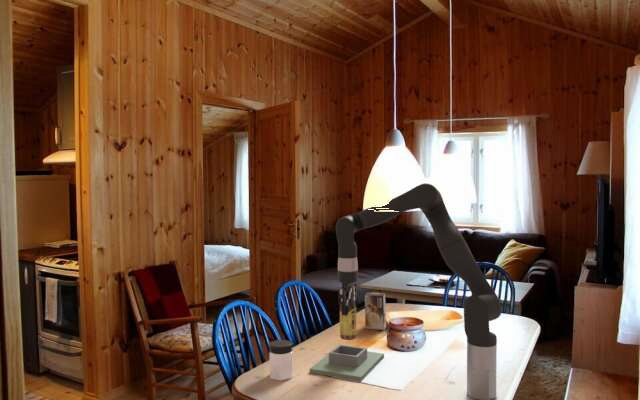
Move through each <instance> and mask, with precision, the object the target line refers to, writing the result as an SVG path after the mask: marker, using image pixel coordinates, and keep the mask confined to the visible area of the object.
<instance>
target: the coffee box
mask: <svg viewBox="0 0 640 400" xmlns="http://www.w3.org/2000/svg"><path fill="white" fill-rule="evenodd" d="M386 311H387V309H386V292H368V291H367V292H366V293H365V295H364V320H365V326H364V327H365V329H367V330H381V331H385V329H386V328H387V318H386V317H387V316H386V315H387V312H386Z"/></svg>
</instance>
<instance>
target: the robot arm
mask: <svg viewBox="0 0 640 400" xmlns="http://www.w3.org/2000/svg"><path fill="white" fill-rule="evenodd" d="M390 200H391V199H390ZM370 207H371V208H370ZM370 207H368V208H365V209H362V210H361V211H359V212H355V213H352V214H349V215H346V216H342V217H340V218H338V220H337V221H336V225H335V234H336V239H337V244H338V245H337V246H338V250H337V251H338V253H337V255H338V258H337V282H339V283H341V288H338V289H337V296H338V305H339V306H340V305H342V315H345V316H347V315H348V300H350V296H351V292H352V288H351V287H350V286H353V300H354V302H355V301H356V299H357V298H358V281H359V272H358V271H359V264H358V247H357V243H356V242H355V233H357V232H360V231H363V230H366V229H369V228H373V227H375V226H379V225H382V224H383V223H386V222H389V221H390V220H392V219H394V218H395V217H397V216H398V215H400V214H402V213H405V212H408V211H411V210H412V211H413V210H415V209H420V210H421V211H422V214H423V215H424V216H425V217H426V219H427V221H428V222H429V224H430V226H431V229H432V231H433V235H434V240H435V243H436V245H437V247H438V250H439V252H440V255H441V257H442V259H443V260H444V263H445V264H446V265H447V266H448V268H449V270H451V271H452V272H453V273H454V274H456V275H457V277H459V278H460V279H461V280H462V281H463V282H464V283H465V284H466V285H467V287H468V289H469V290H470V292H471V294H472V295H469V296H468V297H467V298H466V299H465V302H464V305H463V323H464V324H463V326H464V332H465V336H466V394H467V395H468V396H469V399H474V400H494V399H496V397H497V350H498V349H497V344H498V343H497V342H498V340H497V339H498V338H497V335H496V334H495V333H494V332H493V331H492V332H491V331H490V322H492V321H494V320H497V319H499V318H500V316H501V315H502V312H503V311H502V310H503V307H502V302H501V301H500V298H499V297H498V295H497V294H496V292H495V290H494V289H493V288H492V286H491V284H490V283H489V281H488V280H487V279H486V277H485V276H484V274H483V272H482V269H481V268H480V266H479V264H478V262H477V261H476V259H475V257H474V255H473V254H472V252H471V251H472V250H471V249H470V247H469V245H468V243H467V241H466V240H465V238H464V237H463V235H462V233H461V232H460V230H459V228H458V227H457V225H456V224H455V222H454V221H453V219H452V218H451V216H450V214H449V212H448V209H447V207H446V204H445V202H444V199H443V197H442V194H441V192H440V191H439V190H438V189H437V187H436V186H434V185H433V184H431V183H426V182H425V183H421V184H418V185H416V186H415V187H412V188H410V189H409V190H408V191H406V192H404V193H401V194H399V195H398V196H395V197H394V198H392V200H391V201H390V202H389V204H387V205H385V206H382V207H373V206H370ZM376 208H389V209H376ZM368 209H374V210H376V211H379V210H394V211H399V212H374V210H368ZM346 296H348V297H346ZM343 301H344V302H343Z"/></svg>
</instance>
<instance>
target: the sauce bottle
mask: <svg viewBox="0 0 640 400" xmlns="http://www.w3.org/2000/svg"><path fill="white" fill-rule="evenodd" d="M350 287H351V288H352V292H351V296H350V300H348V315H347V316H345V315H342V305H339V334H340V335H339V337H340V339H342V340H345V341H351V340H354V339H356V338H357V306H356V303H355V301H354V300H353V286H350ZM346 297H348V296H346ZM343 302H344V301H343Z"/></svg>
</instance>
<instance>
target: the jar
mask: <svg viewBox="0 0 640 400" xmlns="http://www.w3.org/2000/svg"><path fill="white" fill-rule="evenodd" d="M268 348H269V379H272V380H275V381H280V382H281V381H285V380H291V379H292V378H293V343H292V341H290V340H287V339H276V340H273V341H271V342H269V347H268Z"/></svg>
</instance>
